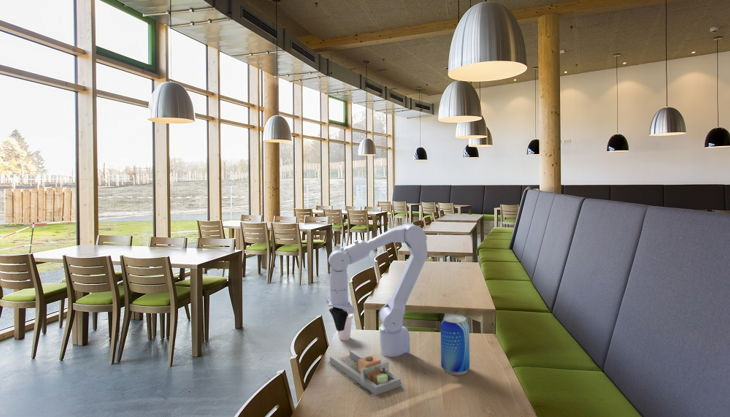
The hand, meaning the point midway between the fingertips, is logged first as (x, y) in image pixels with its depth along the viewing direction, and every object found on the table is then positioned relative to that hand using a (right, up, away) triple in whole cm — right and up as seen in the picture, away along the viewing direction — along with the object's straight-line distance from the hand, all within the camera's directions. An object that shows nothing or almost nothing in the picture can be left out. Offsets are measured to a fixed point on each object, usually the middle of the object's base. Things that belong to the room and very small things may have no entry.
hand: (340, 330), depth 140 cm
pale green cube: (+13, -10, -20) cm, 26 cm away
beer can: (+35, -10, -9) cm, 38 cm away
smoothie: (+1, -9, +16) cm, 19 cm away
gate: (+11, -11, -17) cm, 23 cm away
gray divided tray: (+7, -11, -11) cm, 17 cm away
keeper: (+10, -10, -16) cm, 21 cm away
